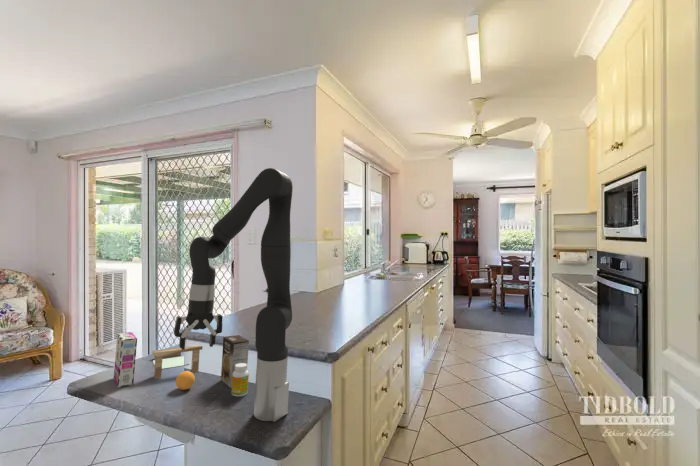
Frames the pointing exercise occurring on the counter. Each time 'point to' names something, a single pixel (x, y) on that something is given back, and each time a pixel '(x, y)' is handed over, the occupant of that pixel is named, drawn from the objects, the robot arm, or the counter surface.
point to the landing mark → (172, 362)
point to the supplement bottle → (240, 380)
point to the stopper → (171, 355)
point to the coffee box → (233, 356)
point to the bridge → (160, 353)
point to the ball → (185, 380)
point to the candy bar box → (125, 359)
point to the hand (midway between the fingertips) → (197, 347)
